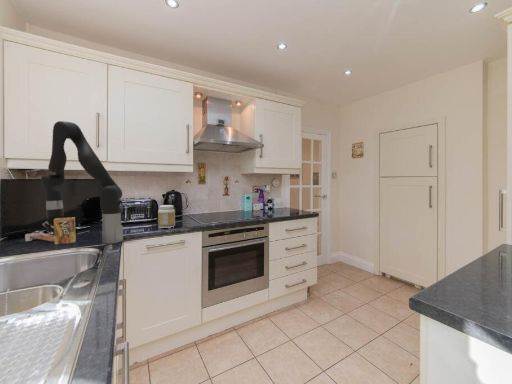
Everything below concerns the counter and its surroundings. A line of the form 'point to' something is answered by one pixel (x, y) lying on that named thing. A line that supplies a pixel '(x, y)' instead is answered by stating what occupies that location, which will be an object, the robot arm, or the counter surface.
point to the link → (44, 237)
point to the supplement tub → (166, 216)
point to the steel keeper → (29, 236)
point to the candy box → (64, 230)
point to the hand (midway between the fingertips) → (56, 237)
